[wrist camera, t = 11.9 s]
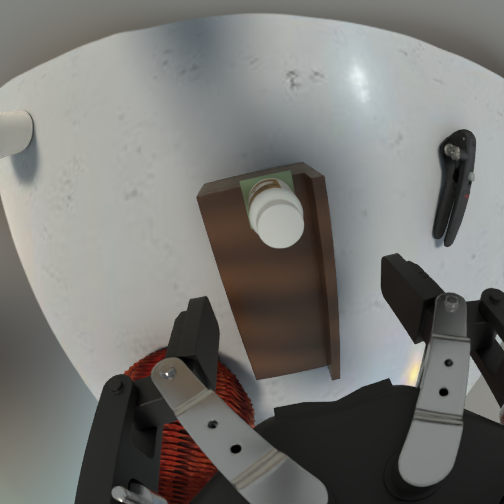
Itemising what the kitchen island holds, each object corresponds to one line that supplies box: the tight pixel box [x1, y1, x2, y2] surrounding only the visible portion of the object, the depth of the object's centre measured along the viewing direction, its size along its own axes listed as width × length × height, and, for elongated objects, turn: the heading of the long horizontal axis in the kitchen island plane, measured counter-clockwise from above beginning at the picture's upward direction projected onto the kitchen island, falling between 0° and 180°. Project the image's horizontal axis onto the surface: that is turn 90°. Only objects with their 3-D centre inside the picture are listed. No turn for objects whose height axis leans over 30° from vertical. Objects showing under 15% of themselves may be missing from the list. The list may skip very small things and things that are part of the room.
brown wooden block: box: [196, 162, 340, 380], centre depth 34 cm, size 28×12×9 cm, turn 13°
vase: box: [124, 348, 255, 504], centre depth 33 cm, size 23×24×30 cm
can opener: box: [434, 129, 476, 247], centre depth 30 cm, size 18×7×6 cm, turn 177°
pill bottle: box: [248, 178, 304, 248], centre depth 24 cm, size 4×4×8 cm
